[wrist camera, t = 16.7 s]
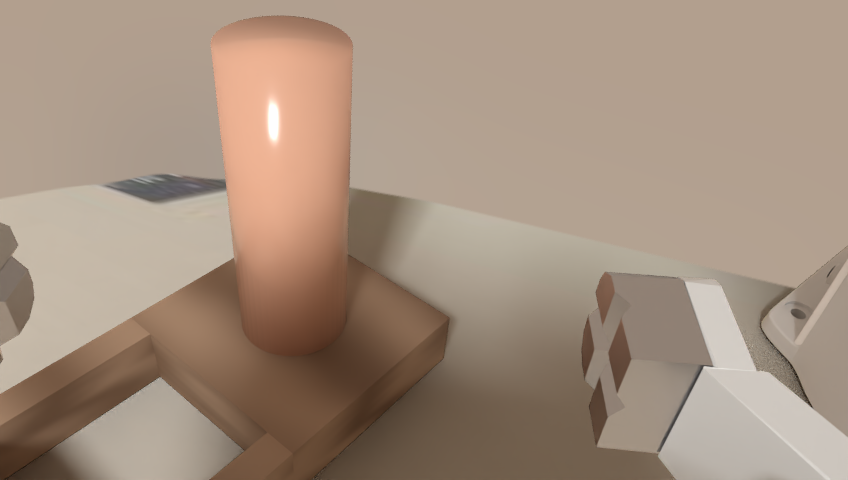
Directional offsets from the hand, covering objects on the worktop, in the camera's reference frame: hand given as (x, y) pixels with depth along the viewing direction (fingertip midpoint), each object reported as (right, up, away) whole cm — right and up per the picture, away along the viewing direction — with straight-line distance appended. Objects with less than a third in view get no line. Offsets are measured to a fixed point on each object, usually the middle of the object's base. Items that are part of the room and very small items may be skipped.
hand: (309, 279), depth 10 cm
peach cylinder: (-5, -3, +24) cm, 25 cm away
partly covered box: (-8, -8, +23) cm, 25 cm away
